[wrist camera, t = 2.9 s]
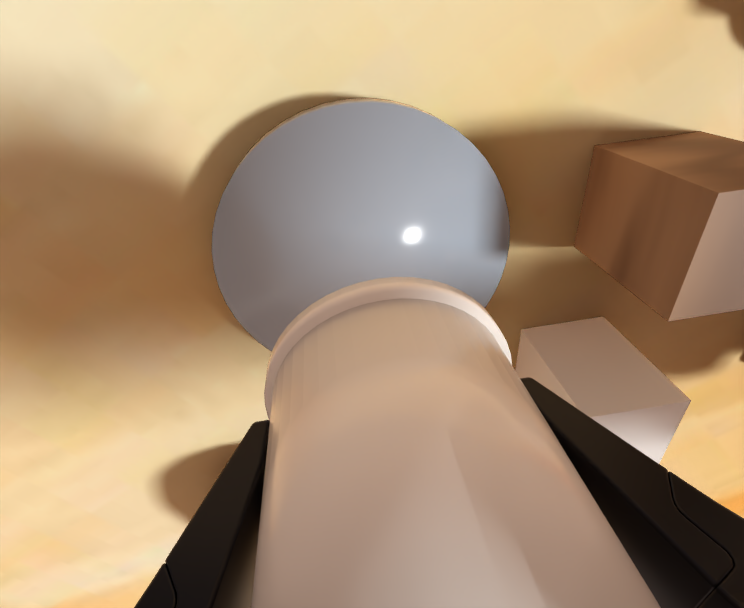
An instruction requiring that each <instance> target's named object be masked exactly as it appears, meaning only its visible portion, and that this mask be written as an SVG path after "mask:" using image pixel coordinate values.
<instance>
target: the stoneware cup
mask: <svg viewBox="0 0 744 608" xmlns="http://www.w3.org/2000/svg"><path fill="white" fill-rule="evenodd" d="M264 396H265V407H266V411H267V415H268V418H269V420H270V425H269V435H268V445H267V455H266V465H265V474H264V484H263V494H262V504H261V514H260V523H259V533H258V543H257V553H256V563H255V573H254V582H253V592H252V602H251V608H661V607H660V606H659V604H658V602H657V601H656V599H655V597H654V596H653V594H652V592H651V591H650V589H649V588H648V586H647V584H646V583H645V581H644V579H643V578H642V576H641V575H640V573H639V571H638V570H637V568H636V566H635V565H634V563H633V562H632V560H631V558H630V557H629V555H628V553H627V552H626V550H625V549H624V547H623V545H622V544H621V542H620V540H619V539H618V537H617V536H616V534H615V532H614V531H613V529H612V527H611V526H610V524H609V523H608V521H607V519H606V518H605V516H604V514H603V513H602V511H601V510H600V508H599V506H598V505H597V503H596V501H595V500H594V498H593V497H592V495H591V493H590V492H589V490H588V488H587V487H586V485H585V483H584V482H583V480H582V479H581V477H580V475H579V474H578V472H577V470H576V469H575V467H574V466H573V464H572V462H571V461H570V459H569V457H568V456H567V454H566V453H565V451H564V449H563V448H562V446H561V444H560V443H559V441H558V440H557V438H556V436H555V435H554V433H553V431H552V430H551V428H550V427H549V425H548V423H547V422H546V420H545V418H544V417H543V415H542V414H541V412H540V410H539V409H538V407H537V405H536V404H535V402H534V401H533V399H532V397H531V396H530V394H529V392H528V391H527V389H526V387H525V386H524V384H523V383H522V381H521V379H520V378H519V376H518V374H517V373H516V371H515V370H514V368H513V366H512V360H511V353H510V350H509V347H508V344H507V341H506V340H505V338H504V336H503V334H502V332H501V331H500V329H499V328H498V326H497V324H496V323H495V321H494V320H493V318H492V317H491V316H490V314H489V313H488V312H487V311H486V309H485V308H484V307H483V306H482V305H481V304H479V303H478V302H477V301H476V300H475V299H474V298H472V297H471V296H469V295H467V294H466V293H464V292H463V291H461V290H459V289H456V288H454V287H452V286H450V285H447V284H444V283H440V282H437V281H433V280H428V279H422V278H415V277H390V278H379V279H373V280H369V281H364V282H359V283H356V284H353V285H350V286H347V287H344V288H341V289H339V290H337V291H335V292H333V293H330V294H328V295H326V296H324V297H323V298H321V299H319V300H318V301H316V302H315V303H313V304H311V305H310V306H309V307H307V308H306V309H305V310H304V311H302V312H301V313H300V314H299V315H298V316H297V317H296V318H295V319H294V320H293V321H292V322H291V323H290V324H289V325H288V326H287V327H286V329H285V330H284V331H283V333H282V334H281V336H280V337H279V338H278V340H277V342H276V344H275V346H274V348H273V350H272V353H271V356H270V359H269V362H268V368H267V376H266V384H265V392H264Z"/></svg>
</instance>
